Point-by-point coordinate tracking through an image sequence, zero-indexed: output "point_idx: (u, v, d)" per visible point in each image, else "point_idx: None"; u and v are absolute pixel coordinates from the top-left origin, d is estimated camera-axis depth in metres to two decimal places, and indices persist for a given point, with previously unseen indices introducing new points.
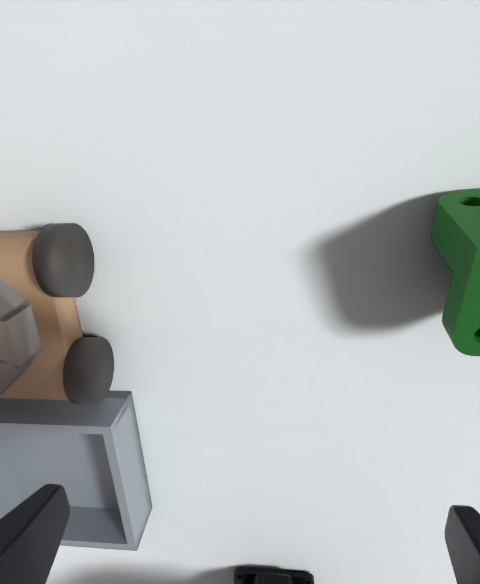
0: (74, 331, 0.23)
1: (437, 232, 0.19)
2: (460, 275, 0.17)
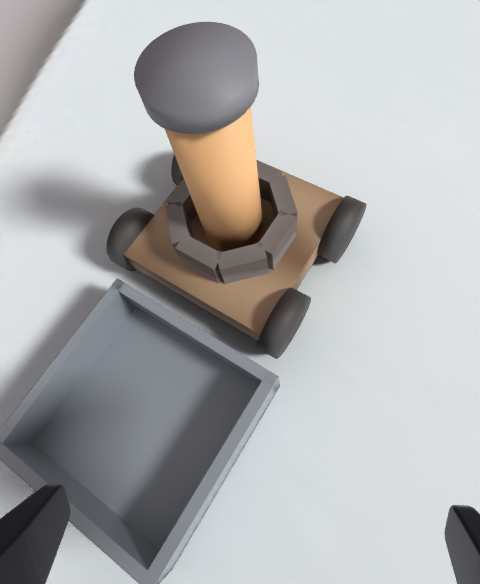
0: (297, 284, 0.23)
1: None
2: None
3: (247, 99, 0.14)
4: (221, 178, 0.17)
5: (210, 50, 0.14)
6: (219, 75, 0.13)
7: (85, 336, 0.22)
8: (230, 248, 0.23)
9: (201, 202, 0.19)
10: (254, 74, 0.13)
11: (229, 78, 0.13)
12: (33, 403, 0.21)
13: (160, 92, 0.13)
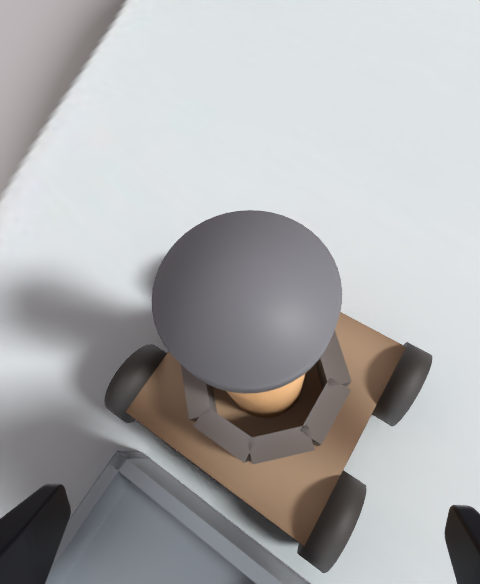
0: None
1: None
2: None
3: (326, 347, 0.09)
4: (267, 394, 0.12)
5: (268, 265, 0.09)
6: (285, 315, 0.09)
7: (74, 536, 0.17)
8: (262, 416, 0.18)
9: (233, 396, 0.14)
10: None
11: (301, 323, 0.08)
12: None
13: (193, 340, 0.09)
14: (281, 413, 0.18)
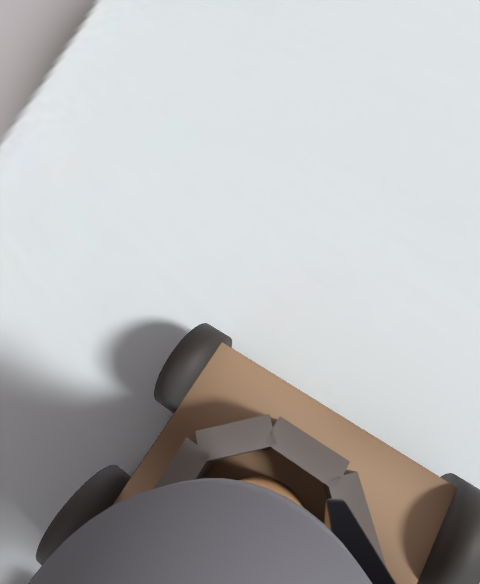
0: None
1: None
2: None
3: None
4: None
5: None
6: None
7: None
8: None
9: None
10: None
11: None
12: None
13: None
14: None
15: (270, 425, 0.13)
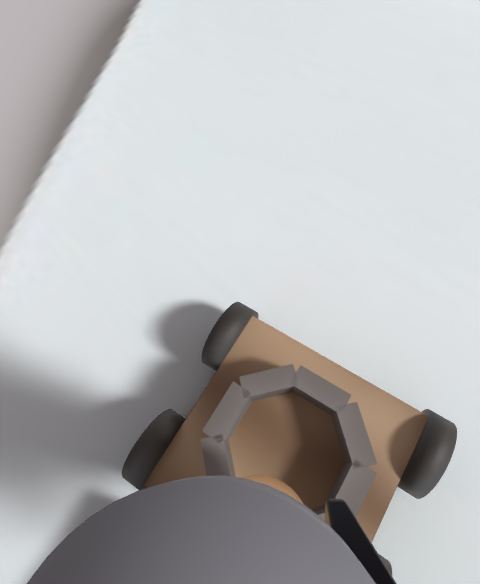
0: None
1: None
2: None
3: None
4: None
5: None
6: None
7: None
8: None
9: None
10: None
11: None
12: None
13: None
14: None
15: (293, 371, 0.18)
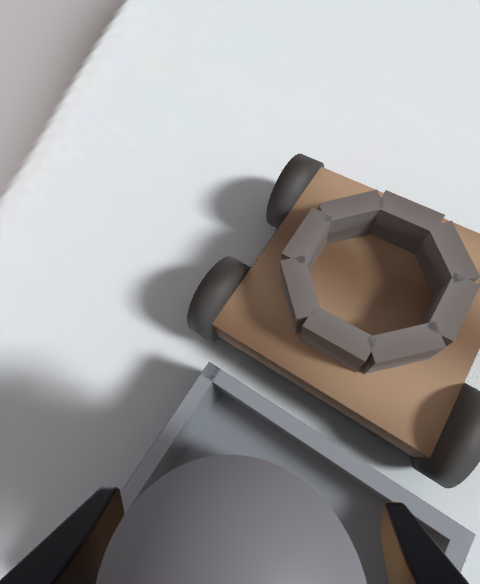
0: None
1: None
2: None
3: None
4: None
5: (262, 562, 0.06)
6: None
7: (168, 450, 0.15)
8: None
9: None
10: None
11: None
12: None
13: None
14: None
15: (379, 196, 0.17)
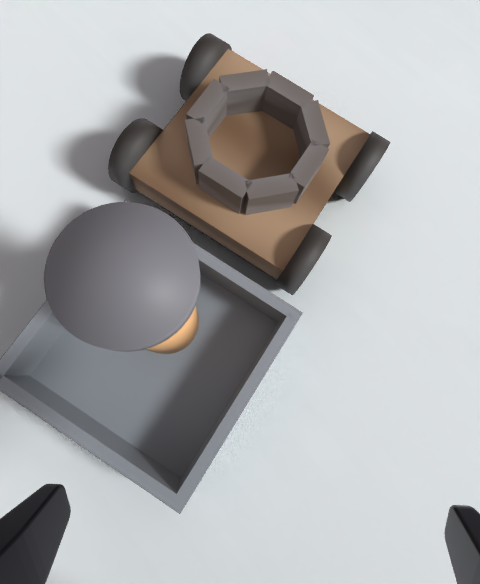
0: None
1: None
2: None
3: (186, 318, 0.12)
4: None
5: (143, 253, 0.11)
6: (153, 295, 0.11)
7: None
8: (162, 353, 0.21)
9: None
10: (196, 296, 0.11)
11: (165, 302, 0.11)
12: (36, 333, 0.19)
13: (79, 313, 0.11)
14: (179, 350, 0.21)
15: (267, 75, 0.21)
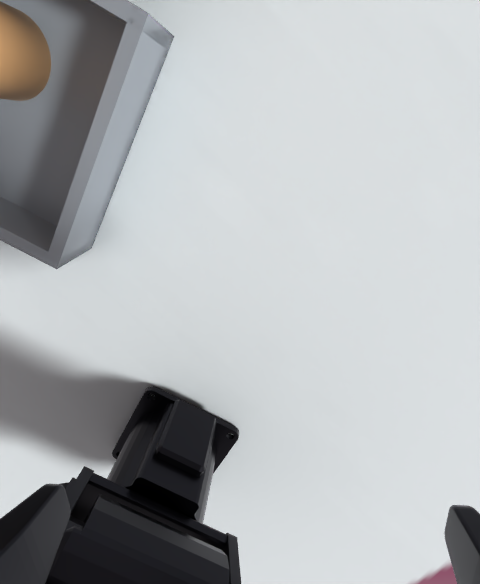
0: None
1: None
2: None
3: None
4: None
5: None
6: None
7: None
8: None
9: None
10: None
11: None
12: None
13: None
14: (33, 94, 0.17)
15: None
